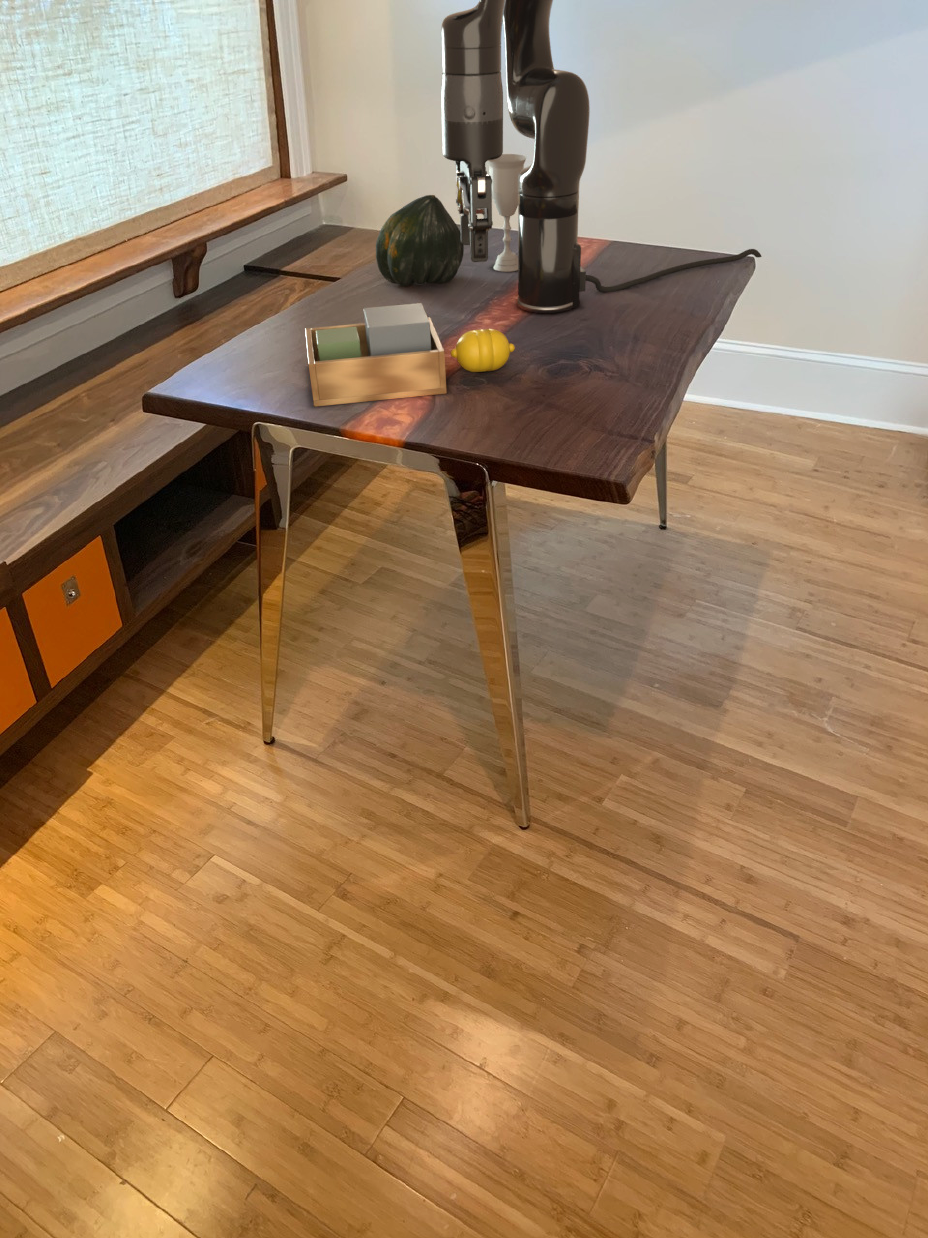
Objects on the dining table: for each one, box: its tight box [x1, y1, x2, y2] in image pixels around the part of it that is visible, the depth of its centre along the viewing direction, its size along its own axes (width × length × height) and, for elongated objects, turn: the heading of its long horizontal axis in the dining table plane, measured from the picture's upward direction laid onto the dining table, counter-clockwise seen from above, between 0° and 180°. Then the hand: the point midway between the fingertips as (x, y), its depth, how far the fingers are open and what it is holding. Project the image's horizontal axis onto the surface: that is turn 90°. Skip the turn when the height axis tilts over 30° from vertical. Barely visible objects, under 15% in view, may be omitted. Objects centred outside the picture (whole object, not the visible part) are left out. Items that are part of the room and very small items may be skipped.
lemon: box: [449, 328, 516, 373], centre depth 131 cm, size 9×6×6 cm, turn 99°
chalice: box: [486, 153, 527, 273], centre depth 166 cm, size 7×7×18 cm
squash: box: [375, 194, 465, 287], centre depth 162 cm, size 14×15×15 cm
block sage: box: [316, 327, 361, 361], centre depth 128 cm, size 6×6×6 cm
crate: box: [304, 316, 447, 408], centre depth 129 cm, size 18×14×6 cm
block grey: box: [363, 302, 431, 356], centre depth 128 cm, size 8×8×8 cm
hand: (474, 252), depth 125 cm, fingers open, 8 cm apart
